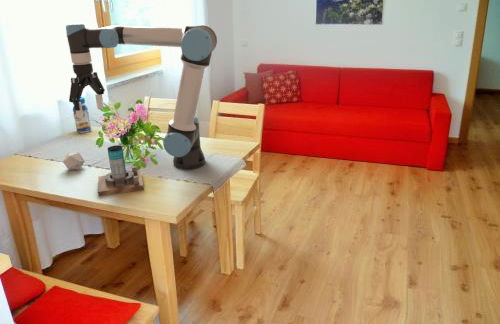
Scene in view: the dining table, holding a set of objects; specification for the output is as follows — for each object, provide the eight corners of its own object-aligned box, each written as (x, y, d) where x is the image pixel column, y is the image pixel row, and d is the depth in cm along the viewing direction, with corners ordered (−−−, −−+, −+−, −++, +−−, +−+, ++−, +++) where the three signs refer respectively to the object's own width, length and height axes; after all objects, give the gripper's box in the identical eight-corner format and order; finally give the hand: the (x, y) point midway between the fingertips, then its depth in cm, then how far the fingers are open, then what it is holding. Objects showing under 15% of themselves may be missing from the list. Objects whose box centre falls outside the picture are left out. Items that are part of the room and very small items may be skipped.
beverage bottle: (94, 128, 252) (88, 96, 244) (86, 133, 244) (80, 100, 236) (81, 128, 253) (75, 96, 245) (73, 132, 246) (67, 99, 238)
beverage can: (129, 178, 179) (124, 145, 173) (122, 184, 174) (117, 150, 168) (117, 177, 181) (112, 144, 175) (110, 182, 175) (104, 149, 169)
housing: (141, 174, 187) (139, 164, 185) (143, 189, 173) (142, 178, 171) (99, 180, 183) (97, 170, 181) (98, 196, 168) (96, 185, 166)
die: (73, 175, 190) (83, 157, 190) (56, 166, 190) (67, 147, 190) (80, 174, 198) (90, 156, 198) (64, 165, 198) (74, 147, 198)
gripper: (93, 58, 182) (101, 105, 190) (52, 68, 160) (63, 121, 168) (108, 58, 179) (115, 106, 188) (68, 68, 158) (79, 122, 166)
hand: (90, 113), depth 178 cm, fingers open, 13 cm apart
